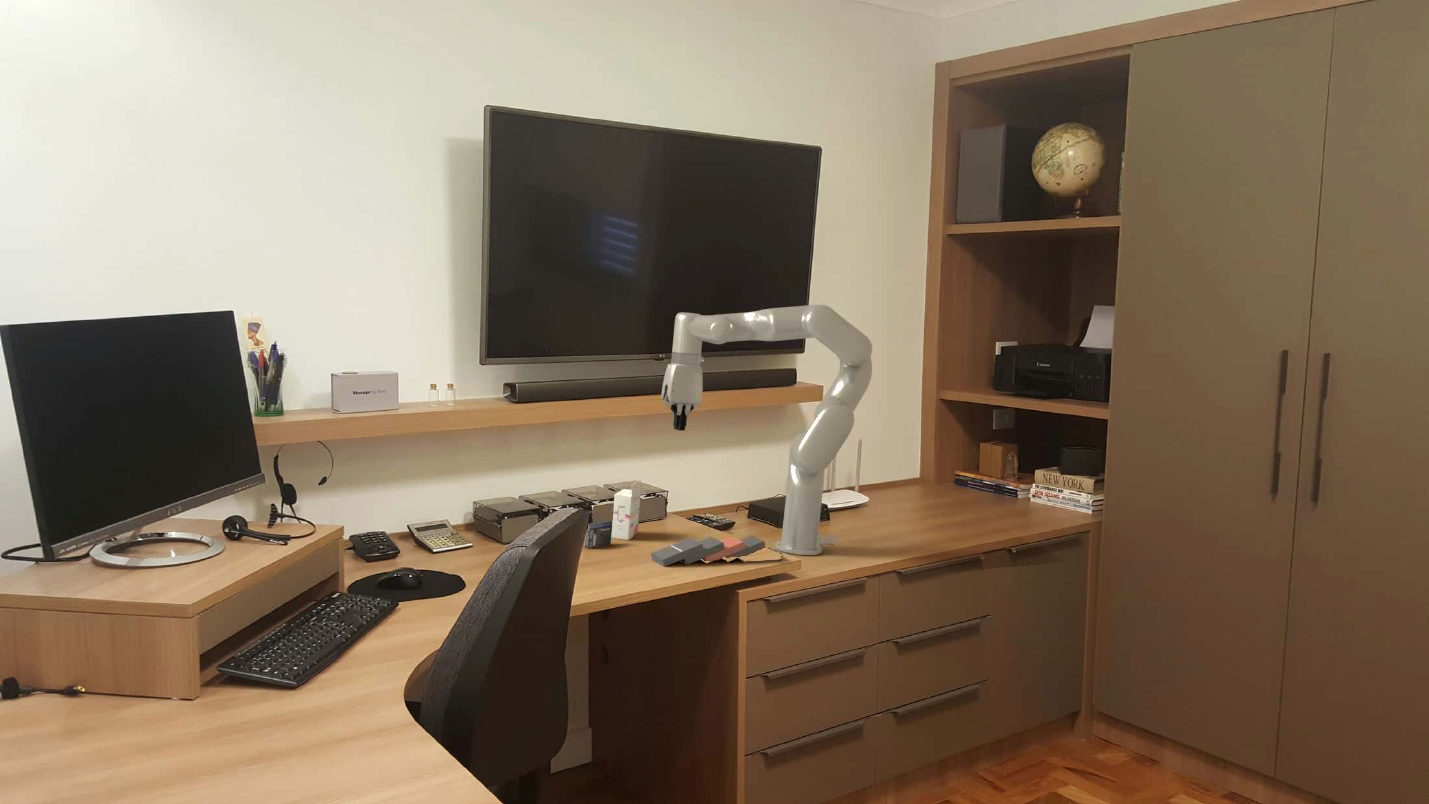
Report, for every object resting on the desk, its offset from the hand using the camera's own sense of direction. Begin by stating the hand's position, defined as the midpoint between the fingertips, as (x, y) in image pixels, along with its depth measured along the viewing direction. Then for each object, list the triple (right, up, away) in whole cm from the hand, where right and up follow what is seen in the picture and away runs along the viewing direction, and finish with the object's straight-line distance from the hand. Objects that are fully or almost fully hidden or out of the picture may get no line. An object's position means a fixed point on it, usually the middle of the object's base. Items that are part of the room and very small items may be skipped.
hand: (679, 429), depth 265 cm
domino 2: (+1, -31, -21) cm, 37 cm away
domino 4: (+11, -31, -15) cm, 36 cm away
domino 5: (+15, -31, -12) cm, 37 cm away
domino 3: (+6, -31, -18) cm, 36 cm away
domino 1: (-4, -30, -24) cm, 39 cm away
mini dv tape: (-20, -29, -13) cm, 38 cm away
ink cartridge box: (-15, -28, 0) cm, 32 cm away
